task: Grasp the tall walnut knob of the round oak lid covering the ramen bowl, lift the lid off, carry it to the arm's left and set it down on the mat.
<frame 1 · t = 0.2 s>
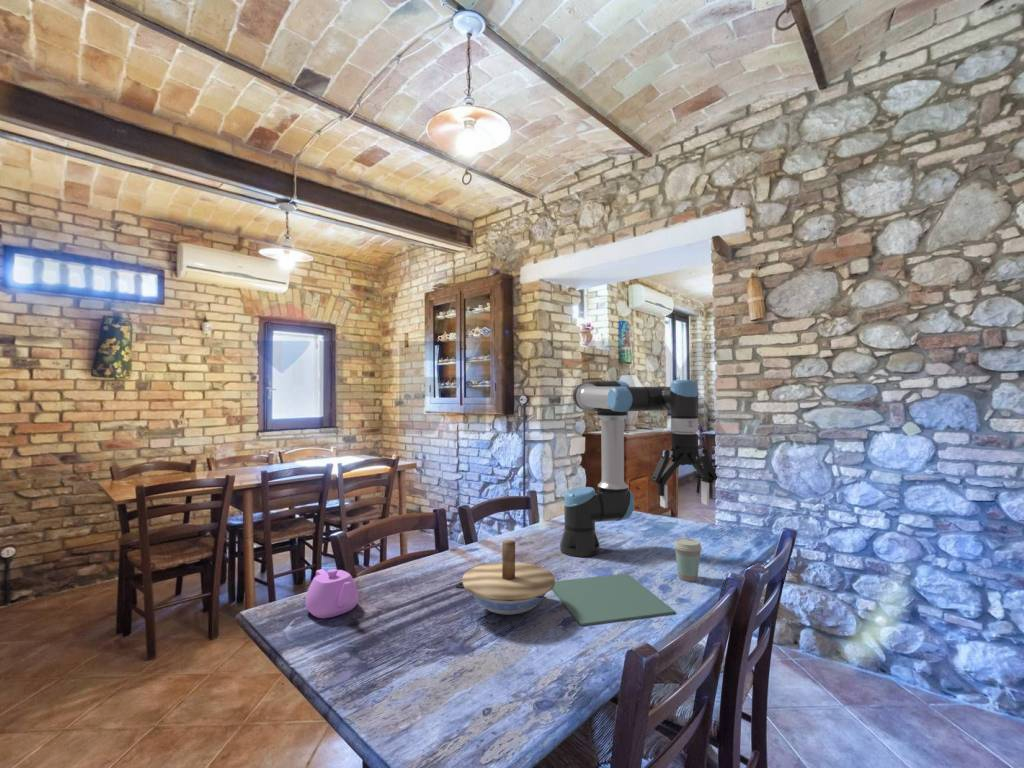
hand: (684, 505, 142), 28 cm above the table, fingers open, 13 cm apart
lid: (508, 581, 138), point 8 cm above the table, touching ramen bowl
ramen bowl: (508, 610, 138), on the table, touching lid
mat: (606, 597, 145), on the table
teapot: (333, 610, 138), on the table
coffee cup: (687, 578, 160), on the table
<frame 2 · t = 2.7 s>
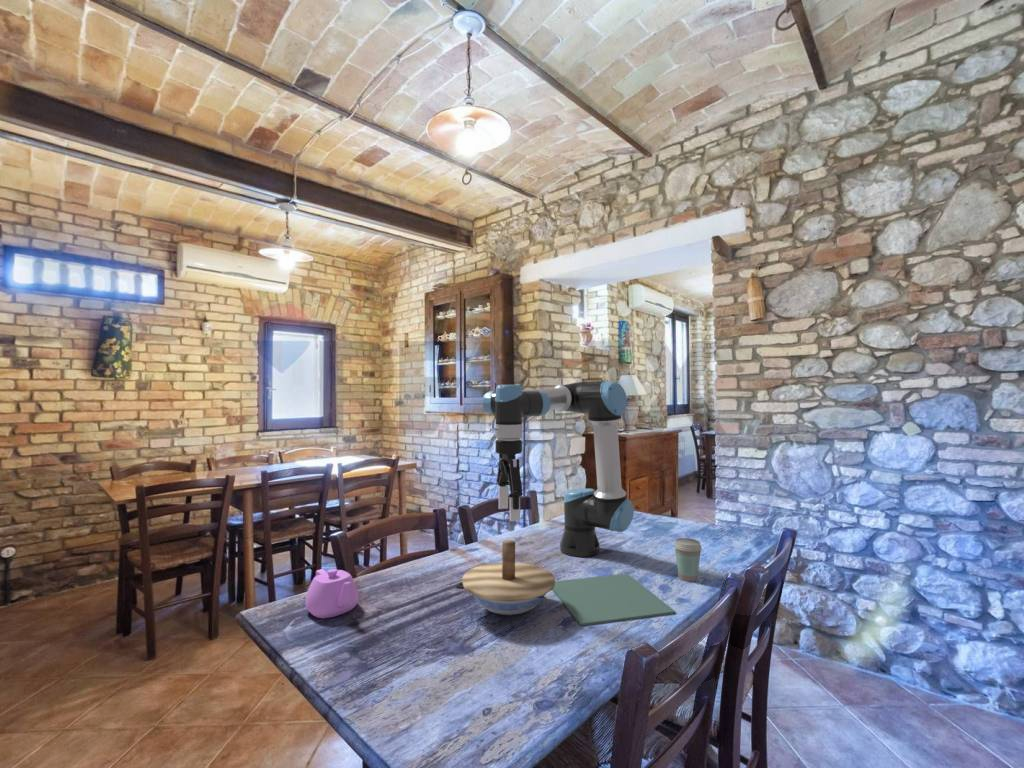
hand: (508, 514, 138), 27 cm above the table, fingers open, 13 cm apart
nothing on the table moved.
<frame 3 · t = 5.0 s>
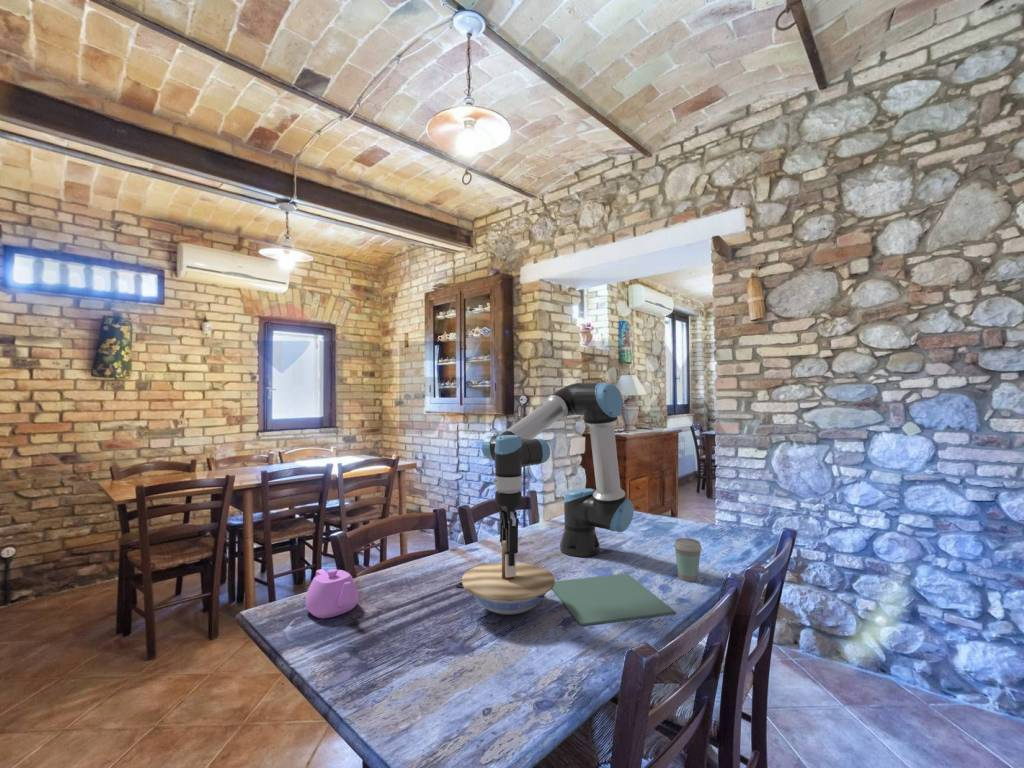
hand: (508, 573, 138), 10 cm above the table, fingers closed on lid, 4 cm apart
lid: (508, 581, 137), point 8 cm above the table, touching gripper, ramen bowl
everything else where it was.
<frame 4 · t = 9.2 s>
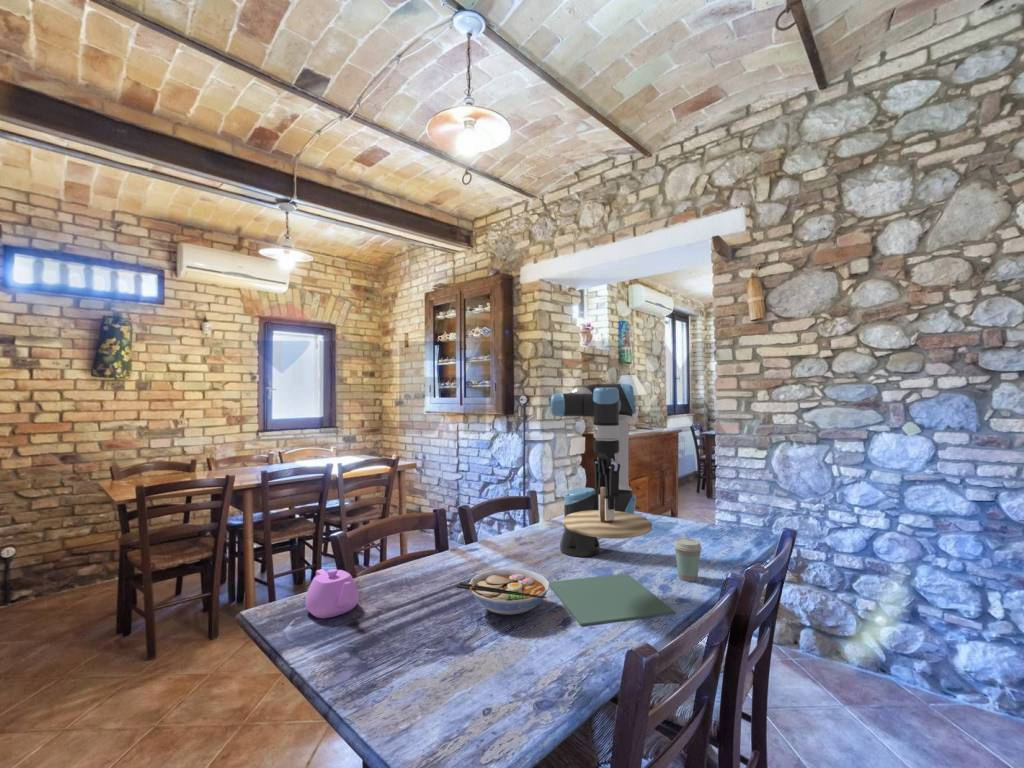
hand: (606, 517, 145), 24 cm above the table, fingers closed on lid, 4 cm apart
lid: (606, 524, 145), point 22 cm above the table, touching gripper
ramen bowl: (509, 610, 138), on the table
everything else where it was.
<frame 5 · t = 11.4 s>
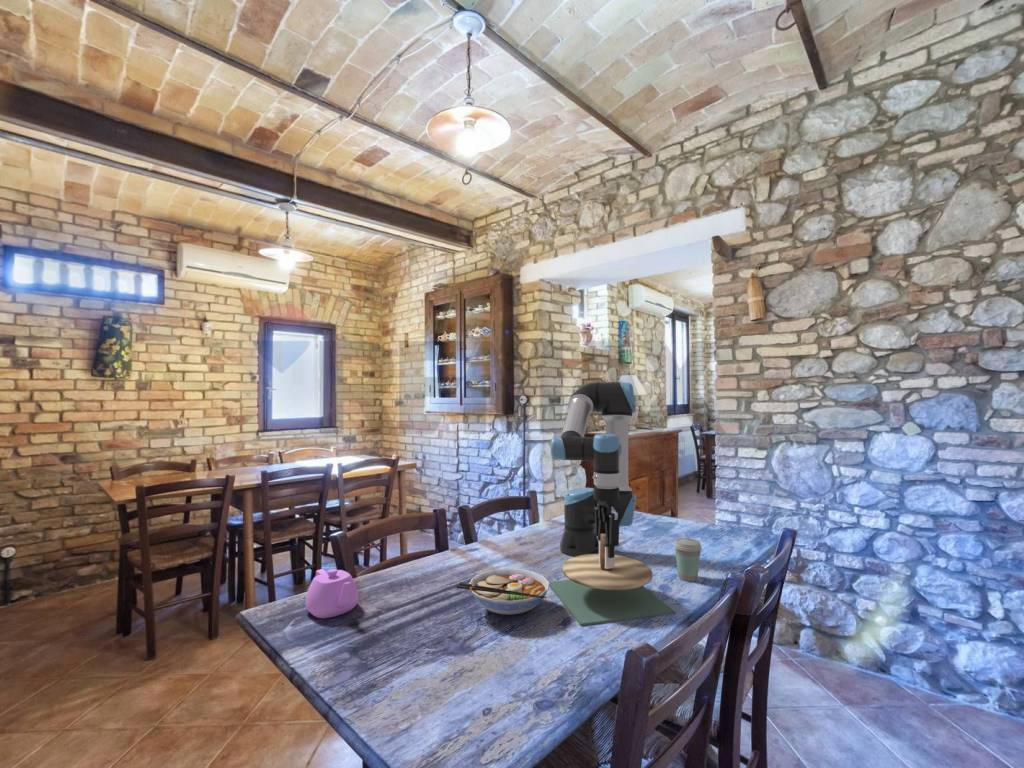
hand: (606, 565, 145), 10 cm above the table, fingers closed on lid, 4 cm apart
lid: (606, 572, 145), point 8 cm above the table, touching gripper
everything else where it was.
when the fingers open (5 cm above the table, at t = 13.2 s): lid drops 2 cm, resting on mat.
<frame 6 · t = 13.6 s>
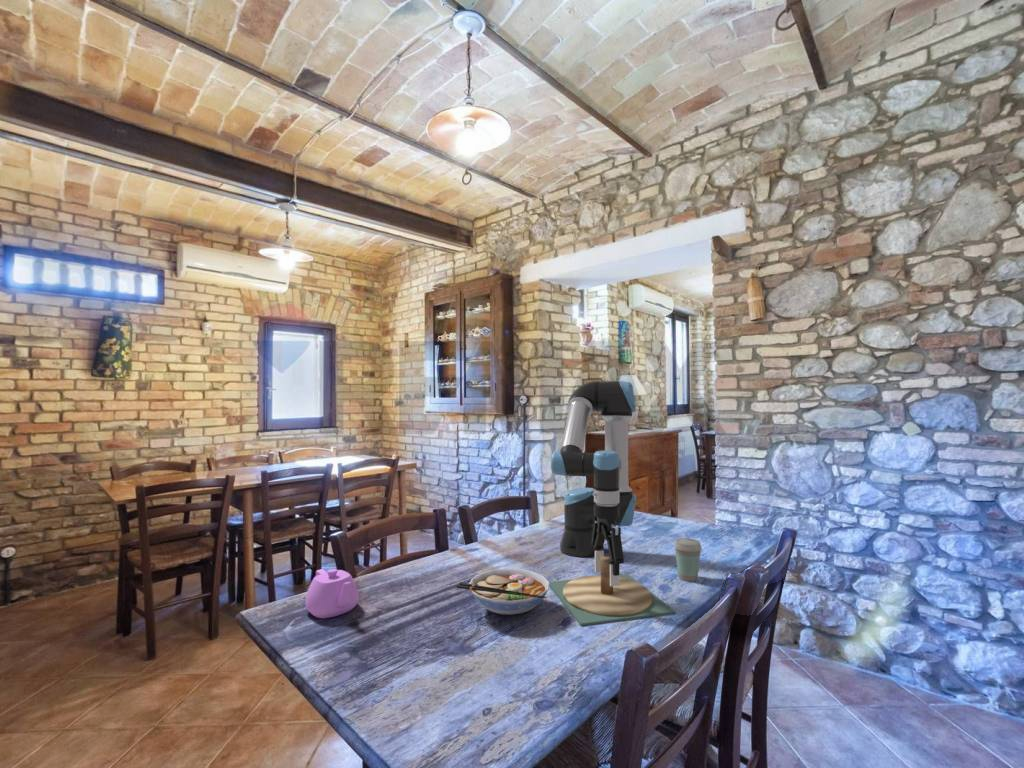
hand: (606, 578, 145), 6 cm above the table, fingers open, 10 cm apart
lid: (606, 595, 145), point 1 cm above the table, touching mat
everything else where it was.
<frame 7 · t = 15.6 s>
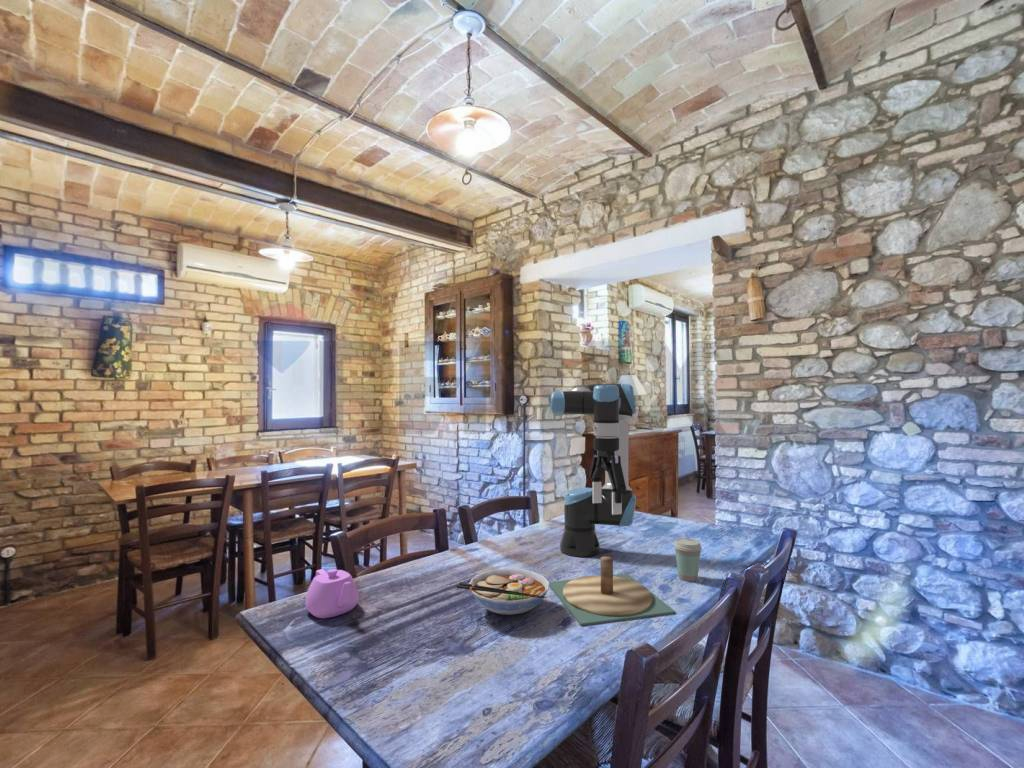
hand: (606, 508, 145), 27 cm above the table, fingers open, 13 cm apart
nothing on the table moved.
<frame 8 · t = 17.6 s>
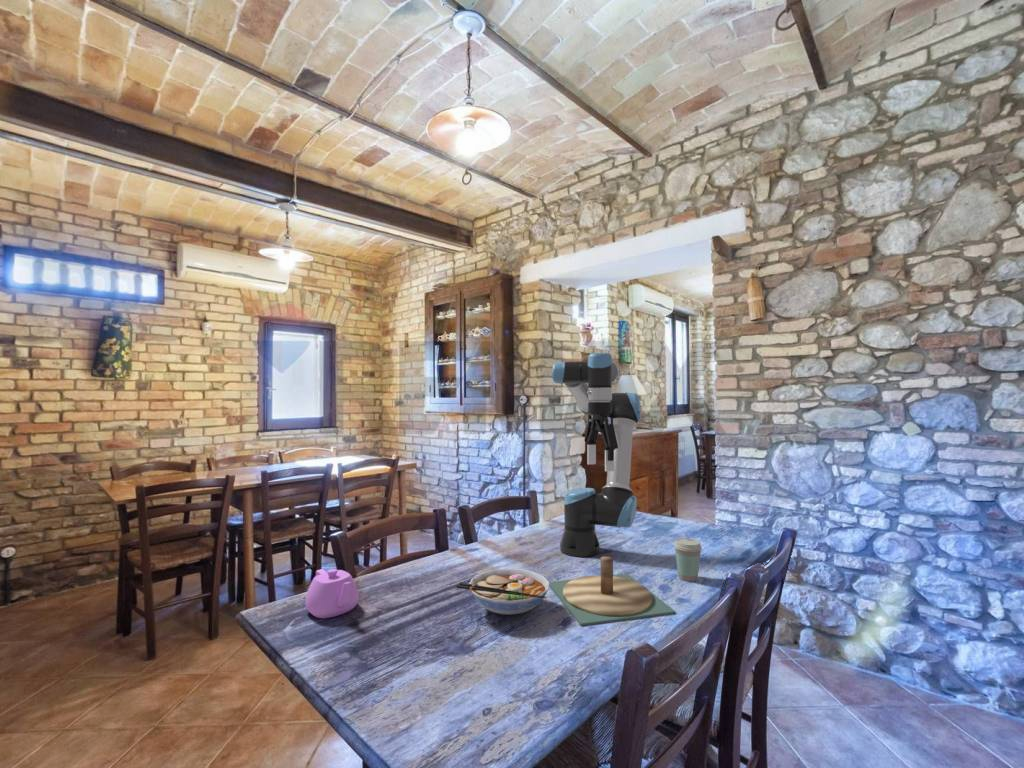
hand: (600, 467, 156), 37 cm above the table, fingers open, 13 cm apart
nothing on the table moved.
at the end: lid inside the target area on the mat (0.1 cm from its centre), point 0.6 cm above the mat's base; lid moved 31.1 cm from its start; the gripper is holding nothing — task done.
